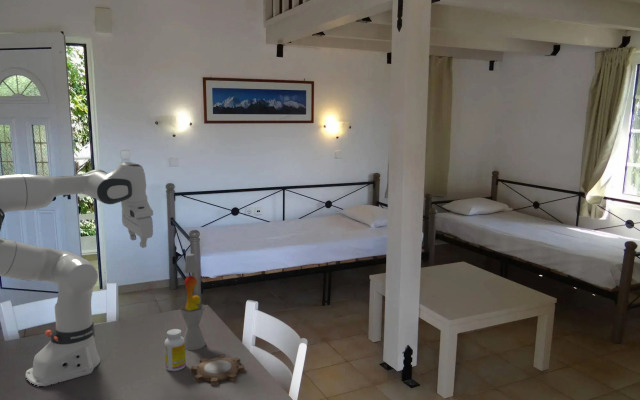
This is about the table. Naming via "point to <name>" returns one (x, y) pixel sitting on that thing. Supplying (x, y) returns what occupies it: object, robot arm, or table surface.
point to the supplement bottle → (174, 350)
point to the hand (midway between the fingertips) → (138, 243)
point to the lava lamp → (192, 308)
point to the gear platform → (217, 369)
